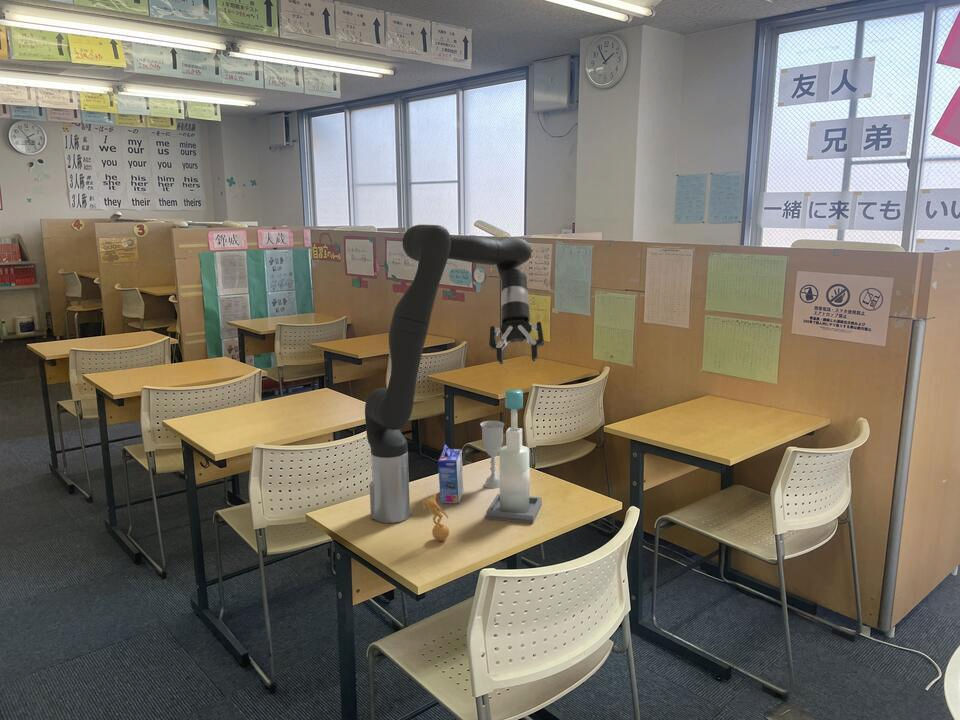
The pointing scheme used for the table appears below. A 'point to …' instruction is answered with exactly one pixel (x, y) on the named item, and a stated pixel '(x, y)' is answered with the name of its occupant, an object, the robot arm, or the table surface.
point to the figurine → (439, 530)
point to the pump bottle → (514, 483)
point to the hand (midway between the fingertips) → (517, 361)
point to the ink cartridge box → (450, 475)
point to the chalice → (492, 447)
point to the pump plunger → (514, 404)
